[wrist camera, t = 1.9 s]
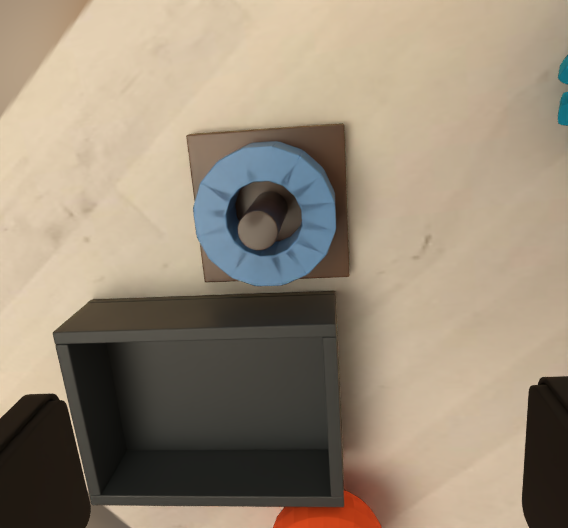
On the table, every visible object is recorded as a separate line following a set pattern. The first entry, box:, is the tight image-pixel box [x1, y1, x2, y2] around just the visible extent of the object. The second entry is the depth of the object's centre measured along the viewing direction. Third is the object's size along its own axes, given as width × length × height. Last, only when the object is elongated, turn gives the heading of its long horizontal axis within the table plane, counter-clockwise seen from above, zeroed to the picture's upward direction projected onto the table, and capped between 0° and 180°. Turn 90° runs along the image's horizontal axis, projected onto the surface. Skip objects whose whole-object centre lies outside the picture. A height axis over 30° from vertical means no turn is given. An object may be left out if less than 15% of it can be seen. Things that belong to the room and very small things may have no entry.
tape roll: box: [193, 141, 336, 286], centre depth 26 cm, size 7×7×3 cm
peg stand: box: [186, 123, 349, 282], centre depth 25 cm, size 8×8×6 cm
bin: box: [53, 291, 344, 507], centre depth 29 cm, size 11×14×4 cm
